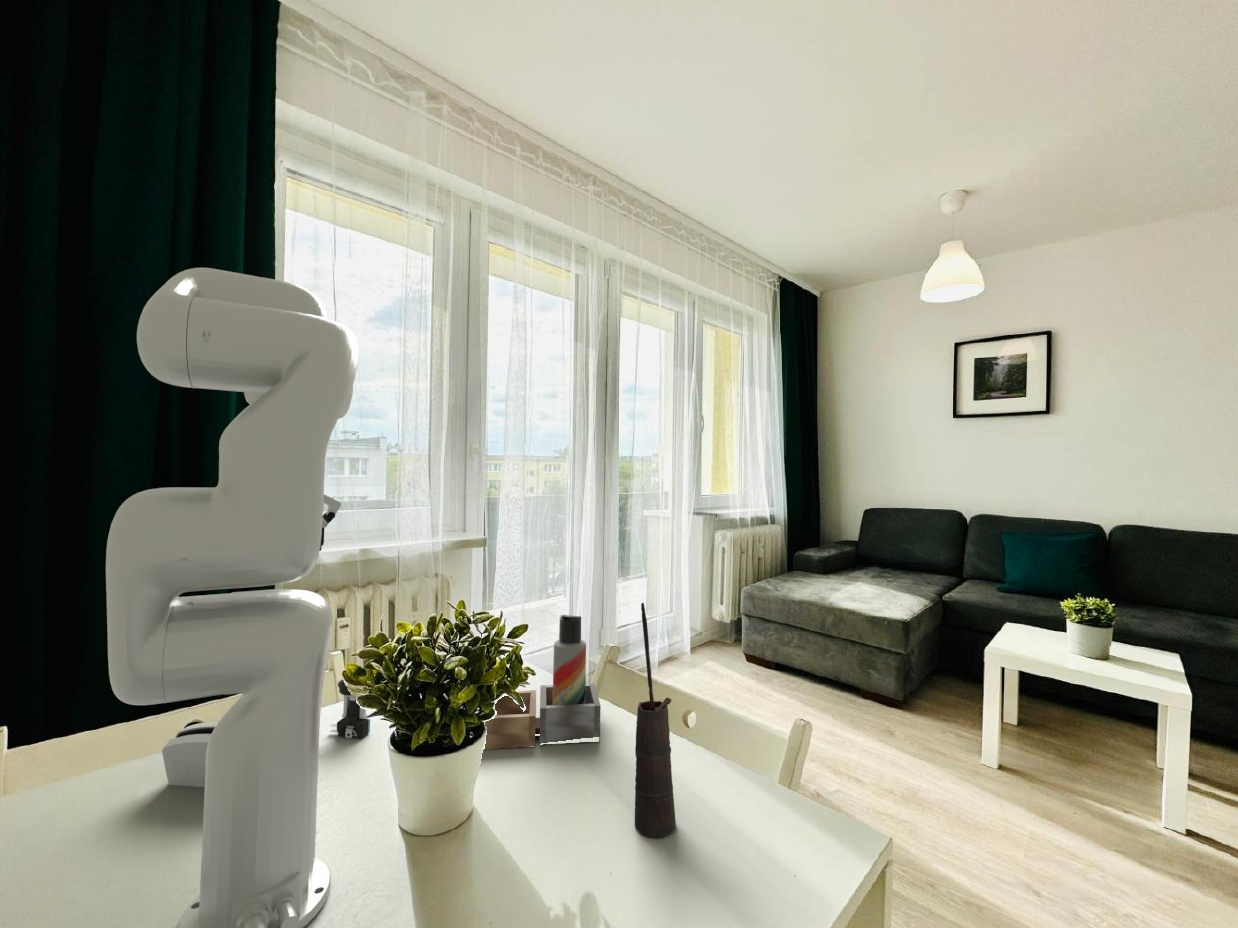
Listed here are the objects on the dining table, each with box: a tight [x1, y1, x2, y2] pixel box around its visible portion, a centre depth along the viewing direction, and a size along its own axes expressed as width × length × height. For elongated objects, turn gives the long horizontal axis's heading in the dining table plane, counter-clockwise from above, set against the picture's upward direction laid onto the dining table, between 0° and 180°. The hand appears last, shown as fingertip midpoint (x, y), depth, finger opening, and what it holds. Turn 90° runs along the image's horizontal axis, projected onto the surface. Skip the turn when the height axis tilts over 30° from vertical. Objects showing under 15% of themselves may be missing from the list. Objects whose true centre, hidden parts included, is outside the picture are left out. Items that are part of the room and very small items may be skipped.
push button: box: [330, 678, 371, 740], centre depth 90 cm, size 7×5×10 cm
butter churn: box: [634, 602, 677, 838], centre depth 68 cm, size 9×10×28 cm
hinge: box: [161, 720, 220, 788], centre depth 75 cm, size 17×5×10 cm, turn 85°
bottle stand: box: [484, 682, 601, 751], centre depth 92 cm, size 22×11×6 cm, turn 98°
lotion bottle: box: [552, 614, 587, 705], centre depth 93 cm, size 6×6×20 cm
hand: (284, 552), depth 89 cm, fingers open, 9 cm apart
